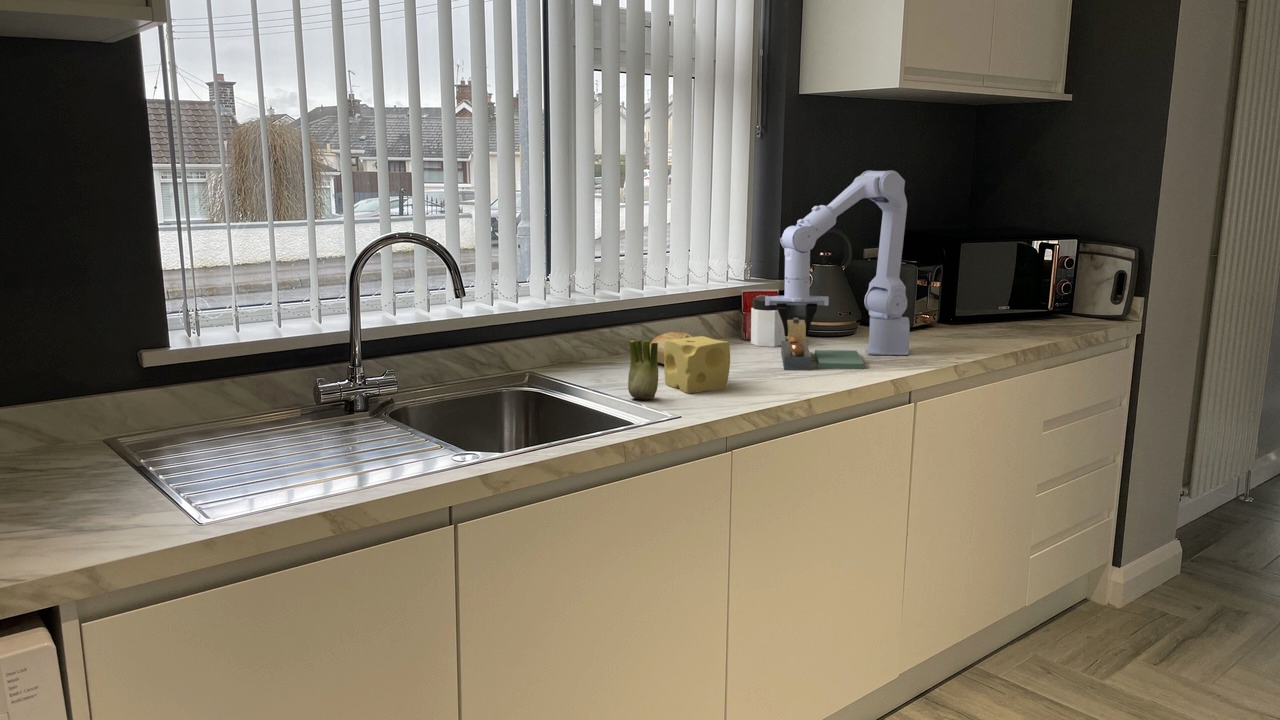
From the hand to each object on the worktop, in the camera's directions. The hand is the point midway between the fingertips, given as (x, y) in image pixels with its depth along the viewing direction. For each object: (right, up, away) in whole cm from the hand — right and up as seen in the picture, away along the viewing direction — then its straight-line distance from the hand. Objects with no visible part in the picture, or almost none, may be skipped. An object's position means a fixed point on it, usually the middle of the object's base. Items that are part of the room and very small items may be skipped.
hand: (796, 335), depth 229 cm
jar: (-4, -2, +23) cm, 24 cm away
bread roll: (-29, -7, -3) cm, 30 cm away
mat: (+10, -6, 0) cm, 12 cm away
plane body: (0, -6, +1) cm, 6 cm away
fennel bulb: (-36, -14, -34) cm, 52 cm away
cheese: (-25, -12, -24) cm, 36 cm away
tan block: (0, -1, 0) cm, 1 cm away
